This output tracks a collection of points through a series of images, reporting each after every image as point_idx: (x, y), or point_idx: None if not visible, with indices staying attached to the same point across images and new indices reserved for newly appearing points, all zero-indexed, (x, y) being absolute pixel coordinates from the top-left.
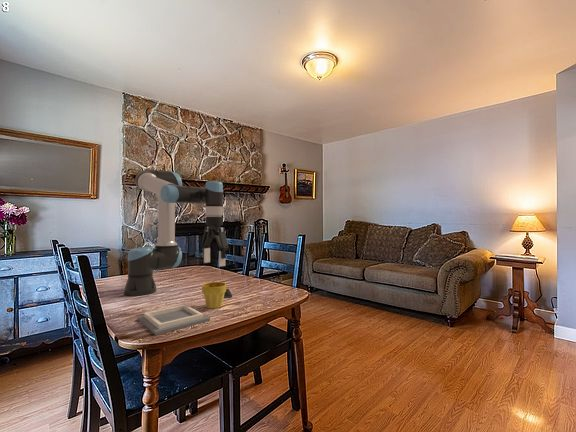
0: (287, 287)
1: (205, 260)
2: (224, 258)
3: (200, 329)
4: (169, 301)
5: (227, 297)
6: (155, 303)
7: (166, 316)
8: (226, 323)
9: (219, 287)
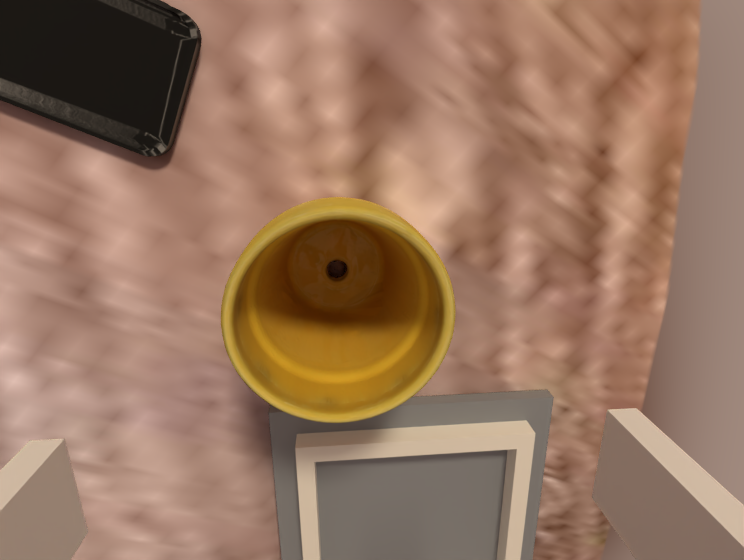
0: None
1: (61, 557)
2: (739, 527)
3: None
4: None
5: (191, 70)
6: None
7: (372, 538)
8: (640, 344)
9: (454, 323)
